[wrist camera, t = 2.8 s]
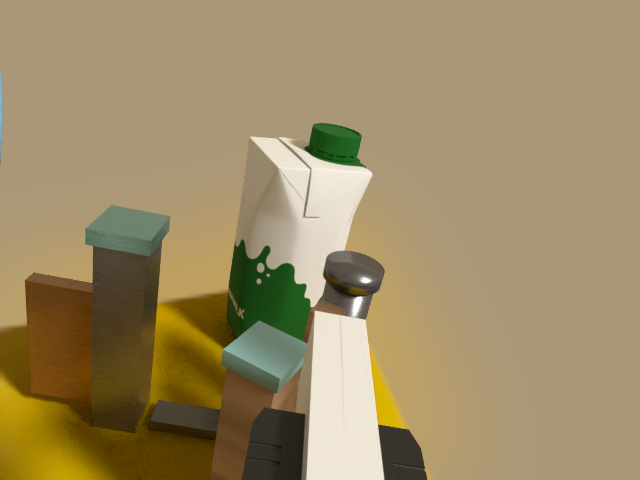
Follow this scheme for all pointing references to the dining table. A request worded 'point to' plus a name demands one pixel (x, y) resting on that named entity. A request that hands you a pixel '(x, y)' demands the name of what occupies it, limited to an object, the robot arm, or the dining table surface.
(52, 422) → the dining table surface
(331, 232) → the milk carton
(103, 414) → the gate posts
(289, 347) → the gate
